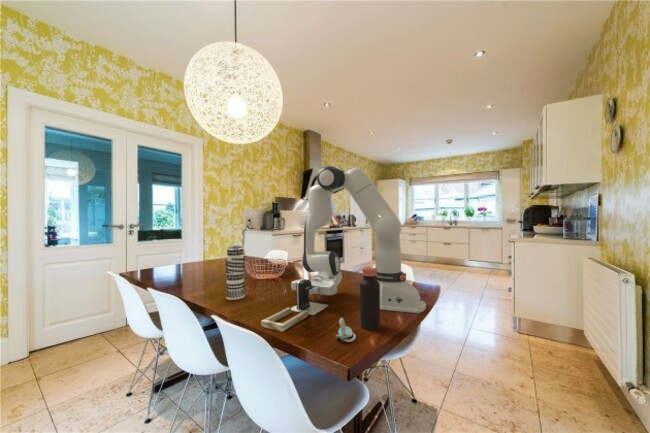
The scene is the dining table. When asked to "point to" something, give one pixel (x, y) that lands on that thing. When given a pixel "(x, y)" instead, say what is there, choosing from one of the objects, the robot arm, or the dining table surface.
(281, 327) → the beige rectangular frame
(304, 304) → the black upright rounded piece
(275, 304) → the dining table surface
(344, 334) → the pacifier
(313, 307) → the tile pad
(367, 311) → the bottle
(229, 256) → the decorative candle
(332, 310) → the dining table surface
